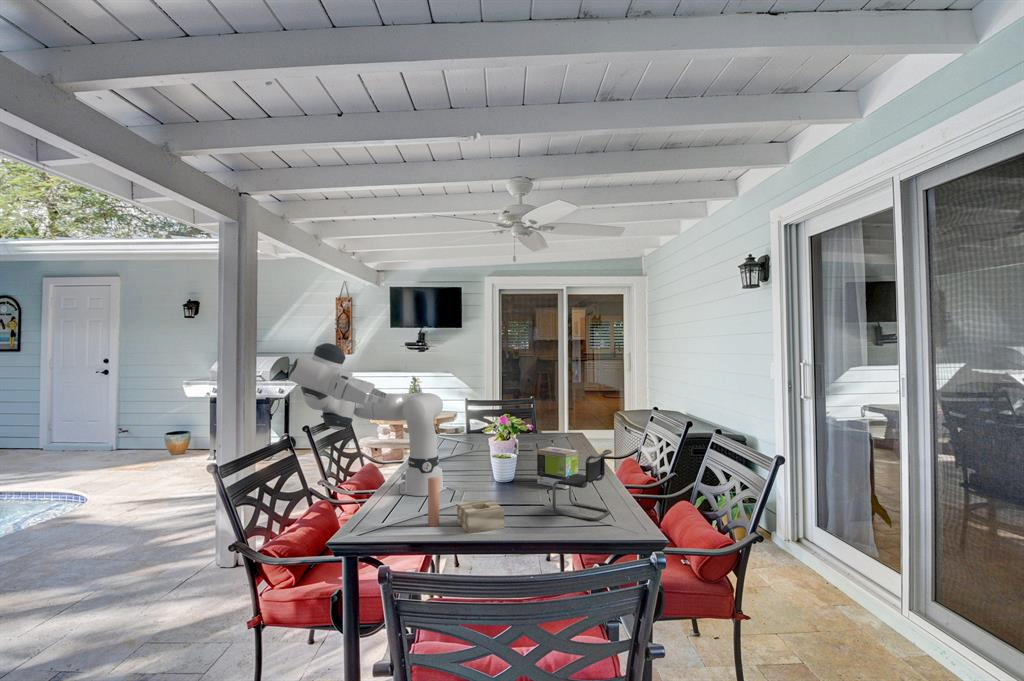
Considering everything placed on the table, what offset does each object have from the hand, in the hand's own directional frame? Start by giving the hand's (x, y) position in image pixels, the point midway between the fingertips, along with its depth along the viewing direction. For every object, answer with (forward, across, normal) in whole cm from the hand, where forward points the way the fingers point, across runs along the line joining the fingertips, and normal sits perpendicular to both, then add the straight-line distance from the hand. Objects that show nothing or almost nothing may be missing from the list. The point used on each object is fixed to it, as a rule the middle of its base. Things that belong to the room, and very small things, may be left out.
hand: (384, 398), depth 165 cm
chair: (+77, -2, -16) cm, 79 cm away
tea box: (+80, -40, -19) cm, 91 cm away
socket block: (+43, +4, -28) cm, 51 cm away
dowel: (+29, +2, -34) cm, 44 cm away
